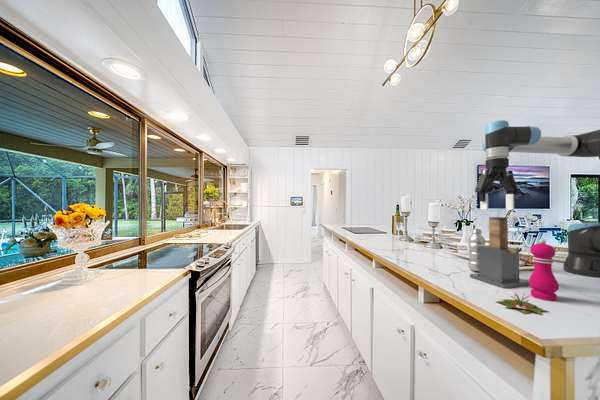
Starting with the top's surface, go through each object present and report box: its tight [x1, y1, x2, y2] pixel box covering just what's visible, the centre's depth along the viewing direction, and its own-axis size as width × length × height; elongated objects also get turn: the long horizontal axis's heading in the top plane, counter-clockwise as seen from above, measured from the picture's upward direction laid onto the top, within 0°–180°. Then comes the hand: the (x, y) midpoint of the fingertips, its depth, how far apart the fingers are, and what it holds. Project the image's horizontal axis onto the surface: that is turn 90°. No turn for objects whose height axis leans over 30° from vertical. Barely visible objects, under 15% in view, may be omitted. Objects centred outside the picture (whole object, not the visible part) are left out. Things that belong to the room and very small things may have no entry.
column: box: [488, 216, 509, 249], centre depth 99 cm, size 4×4×25 cm
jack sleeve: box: [469, 245, 531, 289], centre depth 99 cm, size 14×14×14 cm
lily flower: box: [495, 292, 550, 316], centre depth 74 cm, size 12×12×5 cm
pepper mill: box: [528, 238, 560, 302], centre depth 82 cm, size 7×7×20 cm
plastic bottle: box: [467, 228, 486, 273], centre depth 114 cm, size 6×7×20 cm
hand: (497, 209), depth 100 cm, fingers open, 13 cm apart
